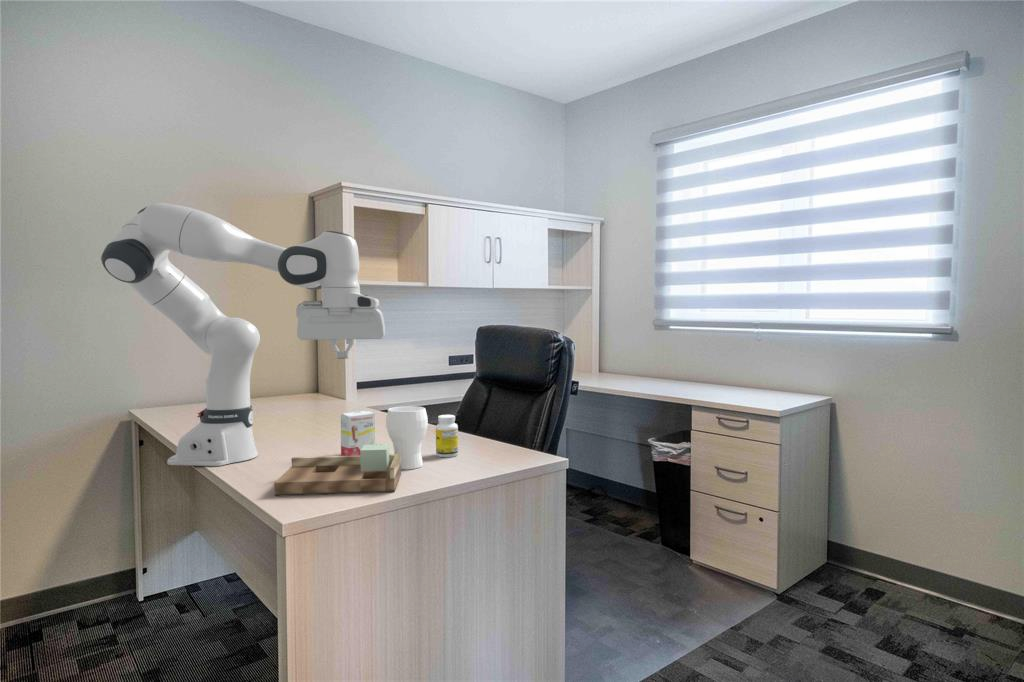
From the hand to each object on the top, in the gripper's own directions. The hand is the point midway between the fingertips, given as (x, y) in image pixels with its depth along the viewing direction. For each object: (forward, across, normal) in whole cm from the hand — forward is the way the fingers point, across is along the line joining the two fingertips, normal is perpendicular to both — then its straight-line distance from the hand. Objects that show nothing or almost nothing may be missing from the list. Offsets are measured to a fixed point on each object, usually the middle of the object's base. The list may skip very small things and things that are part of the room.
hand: (342, 358), depth 147 cm
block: (+26, +7, -2) cm, 27 cm away
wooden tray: (+29, 0, -4) cm, 29 cm away
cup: (+29, +14, +11) cm, 34 cm away
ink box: (+29, -1, +26) cm, 39 cm away
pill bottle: (+29, +24, +22) cm, 44 cm away
